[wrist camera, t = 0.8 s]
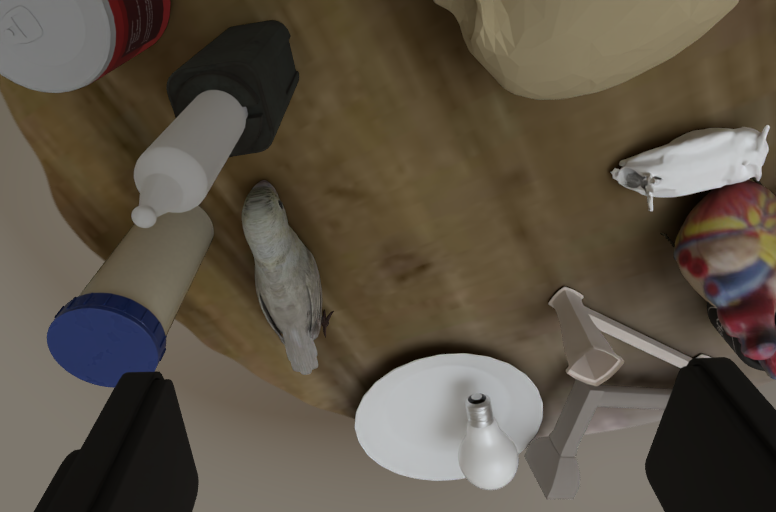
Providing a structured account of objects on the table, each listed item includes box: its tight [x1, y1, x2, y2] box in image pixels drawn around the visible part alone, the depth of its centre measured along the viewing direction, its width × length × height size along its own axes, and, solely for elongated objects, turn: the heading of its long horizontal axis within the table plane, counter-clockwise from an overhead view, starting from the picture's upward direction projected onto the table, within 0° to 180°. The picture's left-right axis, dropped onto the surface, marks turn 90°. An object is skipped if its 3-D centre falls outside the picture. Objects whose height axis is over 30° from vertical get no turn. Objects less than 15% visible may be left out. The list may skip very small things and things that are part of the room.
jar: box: [78, 206, 214, 336], centre depth 41 cm, size 6×6×15 cm
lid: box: [47, 292, 167, 387], centre depth 35 cm, size 7×7×2 cm
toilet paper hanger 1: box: [548, 287, 711, 386], centre depth 52 cm, size 23×9×4 cm
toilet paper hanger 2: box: [524, 379, 672, 499], centre depth 59 cm, size 22×13×6 cm, turn 77°
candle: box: [131, 20, 299, 228], centre depth 29 cm, size 5×5×25 cm
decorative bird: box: [242, 180, 334, 375], centre depth 46 cm, size 5×16×8 cm, turn 11°
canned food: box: [0, 0, 171, 93], centre depth 33 cm, size 8×8×11 cm
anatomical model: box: [674, 180, 776, 379], centre depth 43 cm, size 10×9×15 cm
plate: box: [355, 353, 543, 481], centre depth 60 cm, size 21×21×2 cm
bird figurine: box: [611, 125, 770, 211], centre depth 43 cm, size 5×7×10 cm
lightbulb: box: [458, 393, 519, 490], centre depth 57 cm, size 6×6×11 cm
